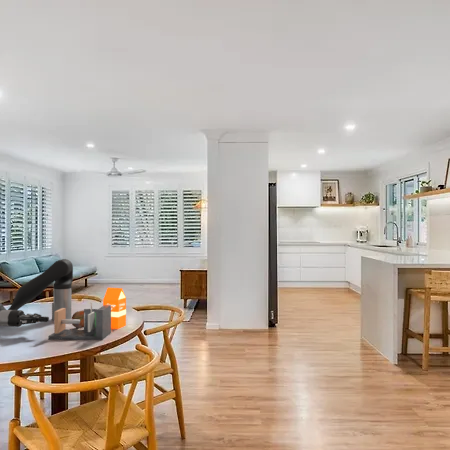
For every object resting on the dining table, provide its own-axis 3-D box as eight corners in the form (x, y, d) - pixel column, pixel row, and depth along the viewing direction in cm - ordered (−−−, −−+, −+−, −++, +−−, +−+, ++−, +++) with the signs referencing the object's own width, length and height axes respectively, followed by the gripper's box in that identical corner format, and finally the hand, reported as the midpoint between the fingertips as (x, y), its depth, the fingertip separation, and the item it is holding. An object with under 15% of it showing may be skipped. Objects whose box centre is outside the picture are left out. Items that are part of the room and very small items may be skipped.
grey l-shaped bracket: (48, 339, 178) (48, 309, 179) (60, 332, 190) (60, 304, 191) (102, 340, 178) (102, 310, 178) (111, 332, 190) (111, 305, 190)
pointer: (87, 332, 180) (87, 303, 180) (92, 328, 186) (92, 301, 186) (89, 332, 180) (90, 303, 180) (94, 328, 186) (94, 301, 186)
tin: (74, 329, 196) (74, 312, 196) (70, 328, 198) (70, 312, 198) (98, 323, 209) (98, 307, 209) (94, 322, 210) (94, 307, 211)
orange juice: (117, 329, 197) (118, 289, 197) (102, 327, 199) (102, 288, 199) (126, 325, 204) (126, 287, 204) (111, 324, 207) (111, 286, 207)
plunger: (54, 333, 179) (54, 311, 179) (62, 328, 187) (62, 308, 187) (75, 333, 179) (75, 311, 179) (82, 329, 187) (82, 308, 187)
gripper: (18, 322, 190) (53, 324, 190) (2, 329, 177) (41, 331, 177) (18, 307, 190) (54, 308, 190) (3, 313, 177) (42, 314, 177)
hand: (48, 319), depth 184 cm, fingers closed
